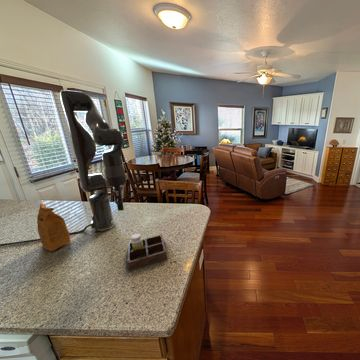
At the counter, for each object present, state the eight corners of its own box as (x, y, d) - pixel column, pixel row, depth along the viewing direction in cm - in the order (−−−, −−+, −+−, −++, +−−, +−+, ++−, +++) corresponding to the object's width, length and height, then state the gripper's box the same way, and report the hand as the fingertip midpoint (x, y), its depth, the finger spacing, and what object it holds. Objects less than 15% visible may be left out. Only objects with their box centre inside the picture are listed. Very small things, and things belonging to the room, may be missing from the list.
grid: (129, 270, 81) (127, 263, 80) (129, 249, 94) (128, 242, 93) (167, 258, 88) (166, 251, 87) (162, 240, 101) (161, 234, 100)
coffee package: (64, 235, 105) (53, 199, 98) (74, 243, 98) (62, 205, 92) (40, 245, 96) (25, 206, 90) (48, 253, 90) (33, 213, 84)
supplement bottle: (135, 247, 94) (133, 233, 92) (145, 247, 95) (143, 232, 92) (131, 254, 90) (128, 239, 87) (141, 253, 90) (138, 238, 88)
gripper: (107, 171, 89) (113, 202, 94) (103, 179, 77) (110, 214, 82) (125, 169, 92) (130, 199, 97) (124, 177, 80) (130, 211, 86)
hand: (121, 206), depth 90 cm, fingers open, 8 cm apart
